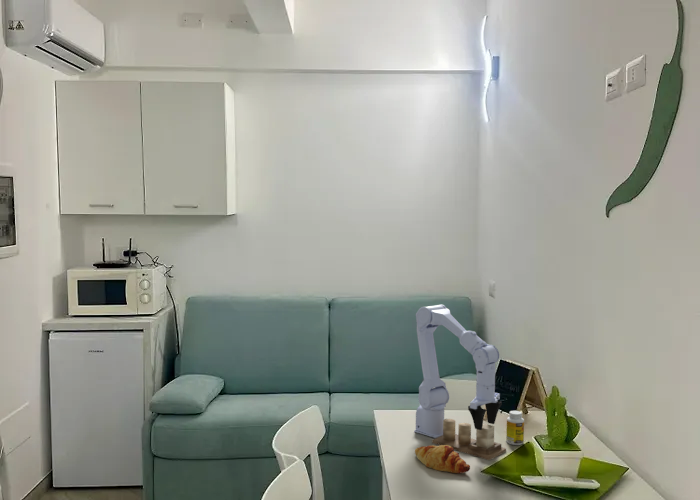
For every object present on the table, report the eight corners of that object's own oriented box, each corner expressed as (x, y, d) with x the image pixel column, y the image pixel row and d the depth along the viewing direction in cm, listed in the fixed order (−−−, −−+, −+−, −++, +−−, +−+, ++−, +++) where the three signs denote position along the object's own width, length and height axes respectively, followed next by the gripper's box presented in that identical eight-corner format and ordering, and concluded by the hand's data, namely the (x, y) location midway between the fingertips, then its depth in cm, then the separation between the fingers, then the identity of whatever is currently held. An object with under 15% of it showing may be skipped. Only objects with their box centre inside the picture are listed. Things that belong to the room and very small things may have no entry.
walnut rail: (432, 442, 215) (432, 422, 215) (449, 435, 222) (449, 415, 222) (489, 460, 200) (489, 437, 200) (506, 451, 208) (506, 429, 207)
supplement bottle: (515, 447, 212) (516, 416, 211) (502, 441, 216) (503, 411, 216) (527, 443, 215) (527, 413, 214) (514, 438, 219) (515, 408, 219)
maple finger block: (475, 447, 207) (475, 426, 207) (481, 444, 210) (482, 423, 210) (487, 451, 204) (487, 429, 204) (493, 447, 207) (494, 426, 207)
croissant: (409, 469, 202) (400, 449, 200) (428, 447, 208) (420, 428, 205) (464, 489, 187) (455, 468, 184) (482, 465, 192) (474, 444, 190)
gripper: (484, 391, 198) (483, 435, 199) (508, 381, 208) (507, 423, 209) (464, 386, 203) (463, 429, 204) (489, 377, 213) (488, 418, 214)
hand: (484, 426), depth 207 cm, fingers open, 7 cm apart
